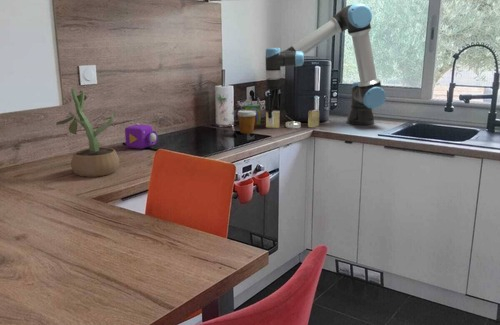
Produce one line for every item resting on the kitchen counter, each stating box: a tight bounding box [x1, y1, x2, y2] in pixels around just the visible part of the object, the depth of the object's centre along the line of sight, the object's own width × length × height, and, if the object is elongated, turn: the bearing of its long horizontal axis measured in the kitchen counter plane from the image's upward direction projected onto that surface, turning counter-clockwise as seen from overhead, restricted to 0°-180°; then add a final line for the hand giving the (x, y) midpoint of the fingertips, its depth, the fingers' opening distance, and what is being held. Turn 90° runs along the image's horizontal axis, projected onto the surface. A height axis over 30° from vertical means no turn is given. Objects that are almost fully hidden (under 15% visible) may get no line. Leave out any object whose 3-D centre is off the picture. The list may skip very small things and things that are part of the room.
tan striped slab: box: [265, 110, 281, 129], centre depth 249 cm, size 7×2×9 cm, turn 86°
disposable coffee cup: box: [236, 109, 256, 135], centre depth 237 cm, size 10×10×12 cm
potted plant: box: [55, 88, 120, 178], centre depth 172 cm, size 22×18×30 cm
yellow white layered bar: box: [307, 109, 320, 128], centre depth 252 cm, size 7×2×9 cm, turn 137°
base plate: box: [285, 120, 302, 129], centre depth 251 cm, size 26×16×4 cm, turn 96°
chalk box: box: [243, 98, 262, 126], centre depth 262 cm, size 9×9×15 cm
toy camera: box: [124, 122, 158, 150], centre depth 211 cm, size 11×14×10 cm
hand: (273, 123), depth 250 cm, fingers closed on tan striped slab, 4 cm apart
